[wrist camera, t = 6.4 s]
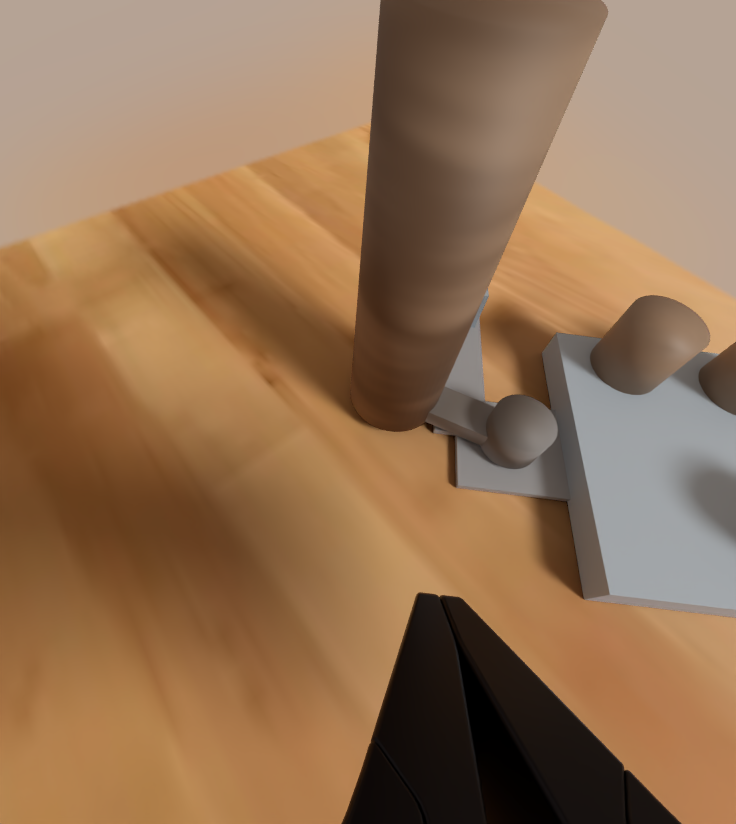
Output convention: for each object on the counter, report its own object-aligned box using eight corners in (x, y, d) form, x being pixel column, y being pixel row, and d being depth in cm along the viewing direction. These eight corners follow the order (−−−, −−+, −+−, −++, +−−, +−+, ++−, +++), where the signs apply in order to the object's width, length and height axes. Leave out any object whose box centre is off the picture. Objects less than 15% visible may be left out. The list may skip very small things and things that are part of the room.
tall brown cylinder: (545, 418, 18) (890, 52, 7) (526, 493, 16) (970, 149, 5) (372, 347, 19) (427, -55, 8) (335, 409, 17) (343, -12, 6)
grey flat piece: (851, 631, 15) (1039, 626, 11) (407, 578, 15) (436, 553, 11) (711, 337, 23) (792, 272, 19) (419, 298, 22) (438, 223, 18)
